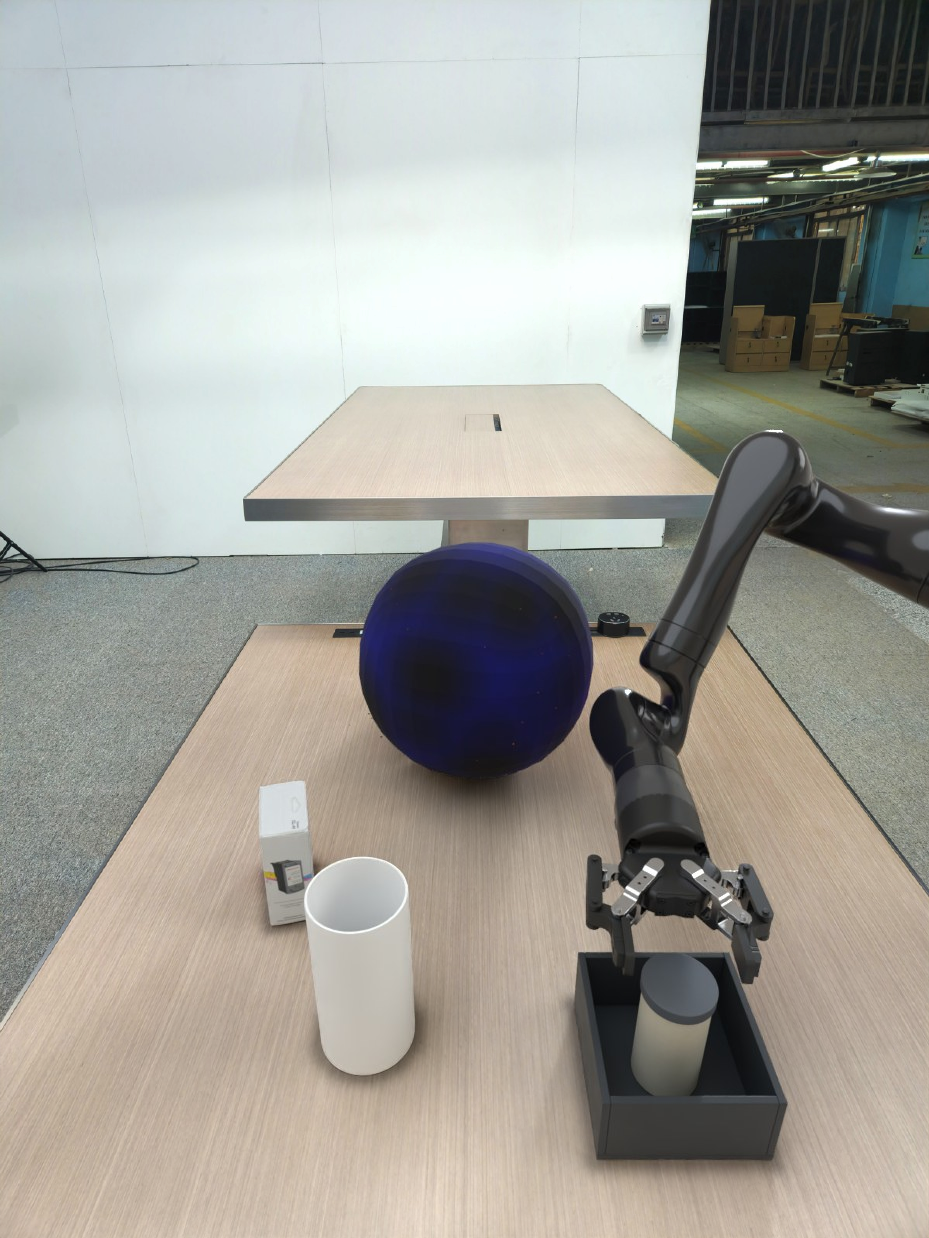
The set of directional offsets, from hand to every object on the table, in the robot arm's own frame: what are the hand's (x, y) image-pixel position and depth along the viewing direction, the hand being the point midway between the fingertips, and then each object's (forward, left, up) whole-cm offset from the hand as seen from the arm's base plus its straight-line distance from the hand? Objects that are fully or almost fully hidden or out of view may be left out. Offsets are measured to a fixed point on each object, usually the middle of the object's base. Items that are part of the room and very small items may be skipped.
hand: (689, 971), depth 54 cm
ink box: (+35, -22, -15) cm, 44 cm away
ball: (+17, -49, -15) cm, 54 cm away
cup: (+25, -6, -15) cm, 29 cm away
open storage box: (0, -2, -14) cm, 14 cm away
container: (0, -2, -14) cm, 14 cm away
